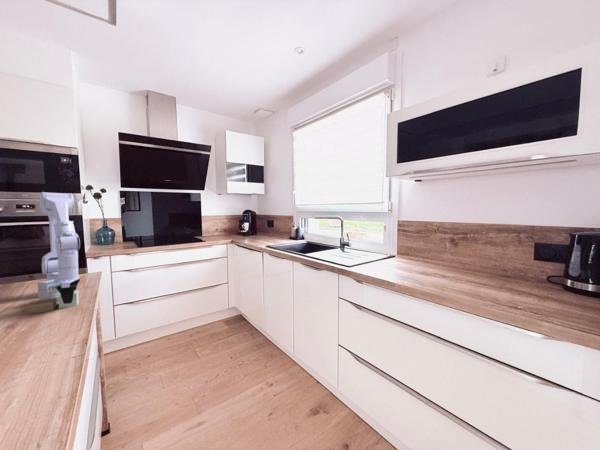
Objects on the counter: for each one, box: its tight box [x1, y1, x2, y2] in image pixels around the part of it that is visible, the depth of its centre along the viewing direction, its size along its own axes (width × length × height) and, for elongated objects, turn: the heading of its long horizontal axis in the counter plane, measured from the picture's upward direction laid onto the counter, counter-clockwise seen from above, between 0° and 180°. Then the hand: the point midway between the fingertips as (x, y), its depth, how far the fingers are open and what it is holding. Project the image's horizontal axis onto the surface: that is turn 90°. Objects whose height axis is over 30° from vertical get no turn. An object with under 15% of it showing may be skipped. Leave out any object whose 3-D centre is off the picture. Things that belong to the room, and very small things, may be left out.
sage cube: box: [58, 289, 80, 309], centre depth 95 cm, size 5×5×5 cm
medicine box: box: [37, 279, 61, 302], centre depth 99 cm, size 8×4×9 cm, turn 168°
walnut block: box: [24, 297, 58, 316], centre depth 91 cm, size 7×7×3 cm
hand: (69, 300), depth 95 cm, fingers open, 5 cm apart
